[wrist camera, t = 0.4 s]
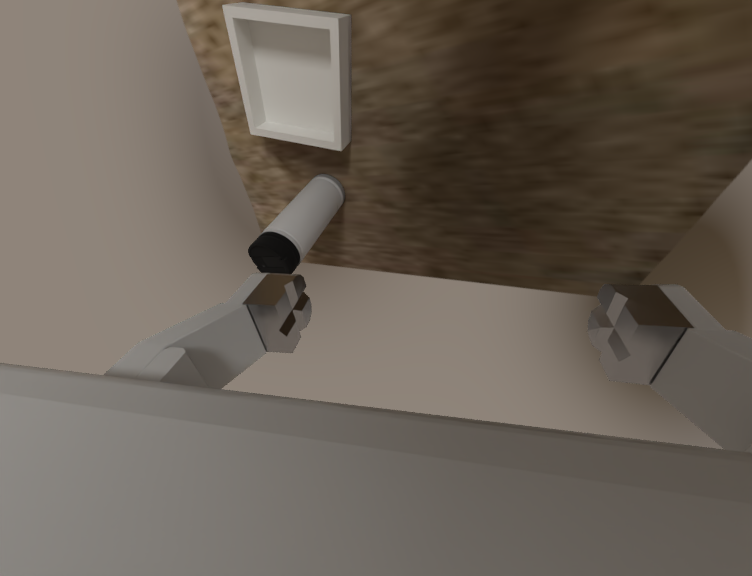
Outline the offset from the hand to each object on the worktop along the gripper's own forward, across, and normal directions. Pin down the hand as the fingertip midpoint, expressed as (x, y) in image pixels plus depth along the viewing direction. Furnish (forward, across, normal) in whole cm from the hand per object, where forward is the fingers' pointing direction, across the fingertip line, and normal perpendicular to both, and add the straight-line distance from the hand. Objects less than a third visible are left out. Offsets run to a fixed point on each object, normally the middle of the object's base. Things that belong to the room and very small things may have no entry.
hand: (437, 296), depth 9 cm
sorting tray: (+40, +20, -5) cm, 45 cm away
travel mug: (+43, +20, +12) cm, 49 cm away
